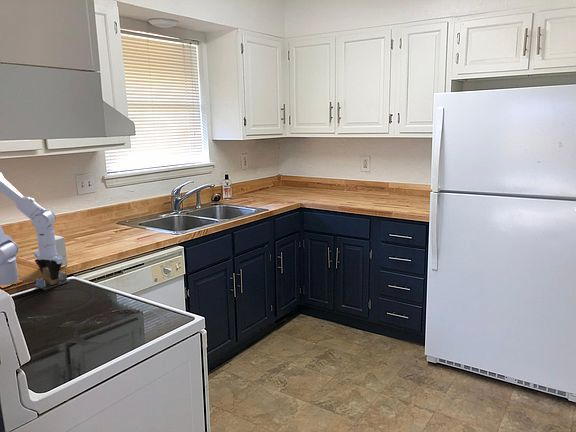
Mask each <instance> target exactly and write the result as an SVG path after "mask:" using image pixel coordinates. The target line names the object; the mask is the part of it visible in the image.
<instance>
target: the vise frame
mask: <svg viewBox="0 0 576 432" xmlns="http://www.w3.org/2000/svg"><path fill="white" fill-rule="evenodd" d="M69 282H71V279H68V278H67V273H66V272H64V271H61V270H59V283H56V284H53V285H50V284H47V283H45V287H43V288H40V287H38V286H36V284H35V286H34V287H35V288H38V289H41V290H44V291H47V290H49V289H52V288H55V287H57V286H61V285H64V284H66V283H69Z"/></svg>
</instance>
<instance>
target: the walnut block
mask: <svg viewBox="0 0 576 432" xmlns="http://www.w3.org/2000/svg"><path fill="white" fill-rule="evenodd" d="M42 271H43V275H42V277H43V278H42V280H45V283H47V284H50V285H53V284H56V283H59V275H58V279H55V280H52V279H51V276H50V272H49V269H48V267H47V266H46V267H43V268H42Z"/></svg>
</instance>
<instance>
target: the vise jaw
mask: <svg viewBox="0 0 576 432" xmlns="http://www.w3.org/2000/svg"><path fill="white" fill-rule="evenodd" d="M35 285H36V286H38V287H40V288H43V287H45V280H43V278H35ZM38 287H37V288H38ZM40 288H39V289H40Z"/></svg>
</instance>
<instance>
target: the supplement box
mask: <svg viewBox="0 0 576 432" xmlns="http://www.w3.org/2000/svg"><path fill="white" fill-rule="evenodd" d="M55 244H56V253H57V254H58V255H59V256H60V257H62V258H63V263H62V265H61V266H63V265H67V266H68V257H67V250H66V249H67V248H66V240H65V237H63V236H60V235H56V234H55Z"/></svg>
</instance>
